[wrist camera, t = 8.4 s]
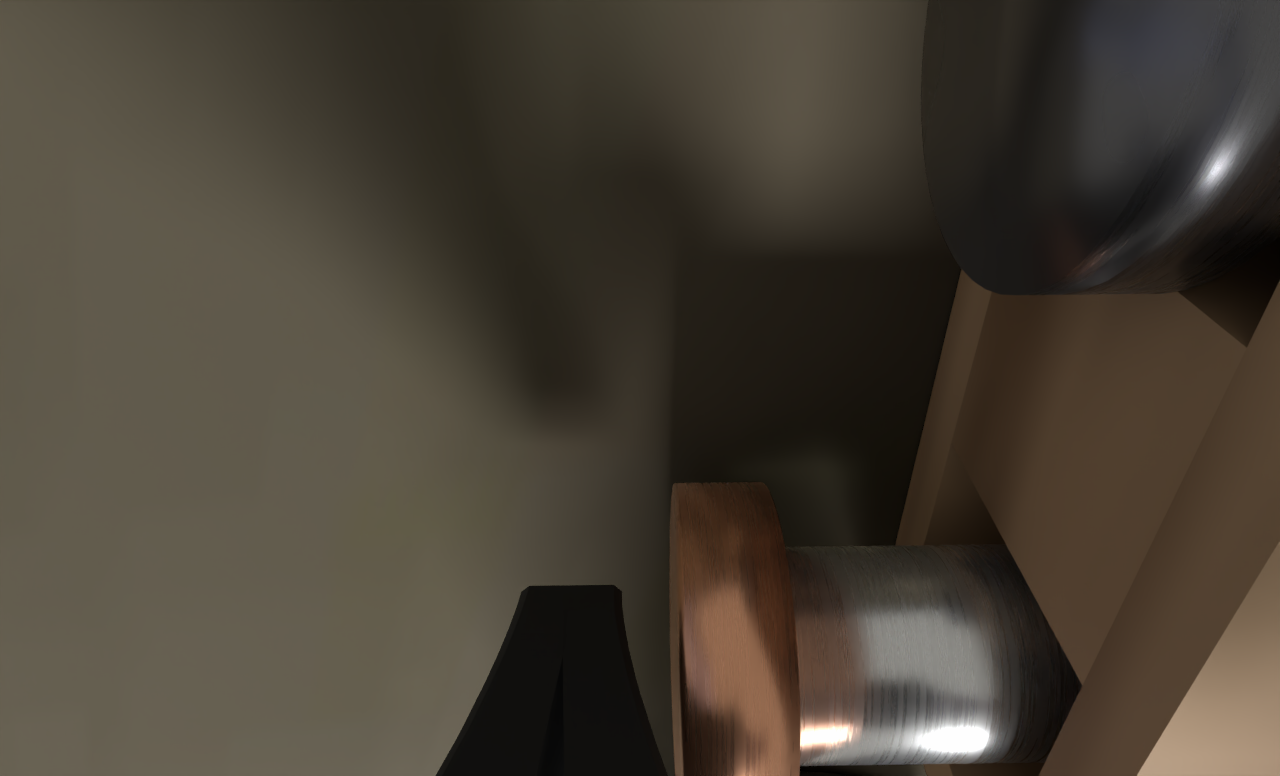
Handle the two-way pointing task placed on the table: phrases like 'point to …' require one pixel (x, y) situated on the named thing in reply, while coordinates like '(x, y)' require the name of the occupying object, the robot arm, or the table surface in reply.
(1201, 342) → the catch block
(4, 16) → the table surface
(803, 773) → the supplement bottle
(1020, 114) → the knob near
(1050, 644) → the knob far
